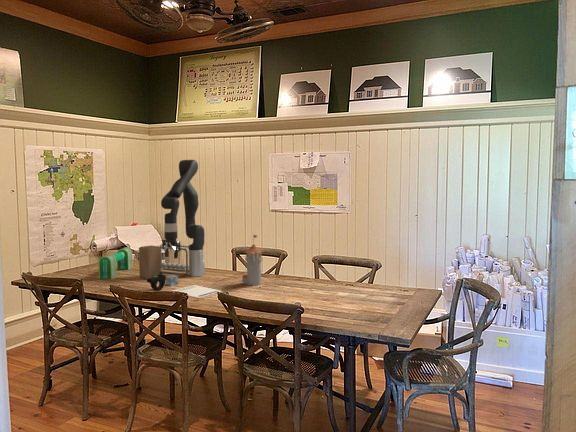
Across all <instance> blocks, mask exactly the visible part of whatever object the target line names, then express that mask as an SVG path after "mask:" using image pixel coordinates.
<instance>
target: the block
mask: <svg viewBox="0 0 576 432" xmlns="http://www.w3.org/2000/svg"><path fill="white" fill-rule="evenodd" d="M138 258H139V259H138V260H139V261H138V262H139V263H138V264H139V278H141V279H145V280H147V279H148V278H151V277H155V276H158V275H159V274H160V273H159V272H161V271H162V269H161V255H160V246H159V245H145V246H140V247H138Z"/></svg>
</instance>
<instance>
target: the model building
mask: <svg viewBox="0 0 576 432" xmlns="http://www.w3.org/2000/svg"><path fill="white" fill-rule="evenodd" d="M257 237H258V235H256V234H253V242H252V243H253V244H252V246H250V247H249V249H247V250H246V251H245V262H246V274H243V275H242V285H247V284H248V286H253V285H254V286H260V285H261V284H262V261H263V256H262V253H263V251H262V250H260V249H259V248H258V247H257V246H256V244H254V243H255V242H254V240H255V239H257Z"/></svg>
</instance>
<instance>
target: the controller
mask: <svg viewBox="0 0 576 432" xmlns="http://www.w3.org/2000/svg"><path fill="white" fill-rule="evenodd" d="M159 273H160V274H159V275H158V276H155V277H151V278H148V279H146V282H147V283H148V284H149V285H150V287H151V289H153V290H155V291H161V290H162V289H164V287H165V285H166V277H167V275H166V274H164V273H163V272H159ZM157 284H158V286H157Z"/></svg>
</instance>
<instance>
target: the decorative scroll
mask: <svg viewBox="0 0 576 432" xmlns="http://www.w3.org/2000/svg"><path fill="white" fill-rule="evenodd" d="M97 263H98V279H99V280H113V279H114V278H117V271H130V270H131V269H133V250H132V249H131V248H130V247H125V246H124V247H123V248H120V249H118V250H117V251H116V253H114V254H110V253H108V254H106V255H104V256H103V255H102V256H101V257H100V258H99V259H98V262H97Z"/></svg>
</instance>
